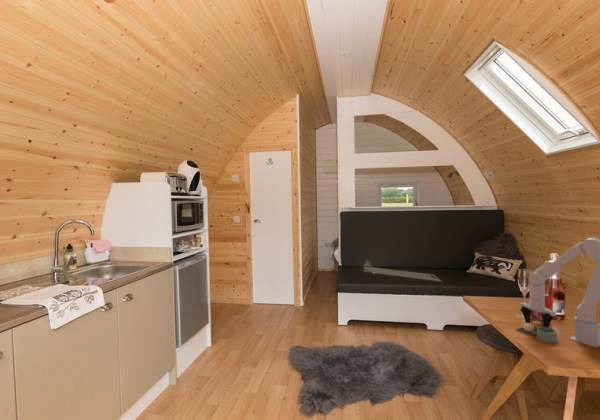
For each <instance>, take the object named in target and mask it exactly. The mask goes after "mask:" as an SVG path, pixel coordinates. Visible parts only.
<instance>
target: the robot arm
mask: <svg viewBox="0 0 600 420" xmlns="http://www.w3.org/2000/svg"><path fill="white" fill-rule="evenodd" d="M585 254H586V255H588V256H590V257H591V258H592V259H593V260H594V262H595V267H594V270H593V272H592V274H591V277H590V281H589V283H588V285H587V288H586V291H585V293H584V297H583V299H582V301H581V302H580V303H579V304H578V305H577V308H576V309H575V311H574V315H575V316H574V336H571V337H569V340H573V341H575V342H578V343H580V344H584V345H588V346H591V347H593V348H600V322H598V319H596V315H597V304H598V301H599V299H600V238H598V237H587V238H585V240H584V241H581V242H579V243H577V244H575V245H574V246H572V247H570V248H569V249H568V250H567V251H565V252H564V253H562V255H560V256H559V257H558V258H557V259H554V260H548V261H547V260H545V261H544V262H543V264H542V265H541V266H540V267H538V268H535V269H534V271H533V272H531V273H530V274H529V275H528V281H529V299H528V300H529V303H526V302H519V307H520V312H521V313H522V316H523V319H524V321H525V323H530V324H531V323H532V322H531V320H532V319H531V318H532V317H531V311H532V310H534V311H537V312H541V313H544V315H542V318H543V321H542V322H543V324H542V327H547V328H550V327H549V326H550V324H551V322H552V320H553V319H554V317H556V313H557V312H556V311H555V310H553V309H549V308H548V309H547V308H545V294H546V289H545V282H546V281H547V280H550V279H551V278H552V277H553V276H555V275H556V274H558V273H559V272H561V270H562V268H561V267H562V266H563V265H564V264H566V263H567V262H569V261H571V260H572V259H574V258H575V257H577V256H584V255H585Z"/></svg>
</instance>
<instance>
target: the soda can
mask: <svg viewBox="0 0 600 420" xmlns="http://www.w3.org/2000/svg"><path fill="white" fill-rule="evenodd" d="M545 308H547V309H549V297H548V294H547V293H545ZM542 315H544V313H541V312H537V311H534V310H532V311H531V318H532V319H533V320H534V321H539V322H543V318H542Z"/></svg>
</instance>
